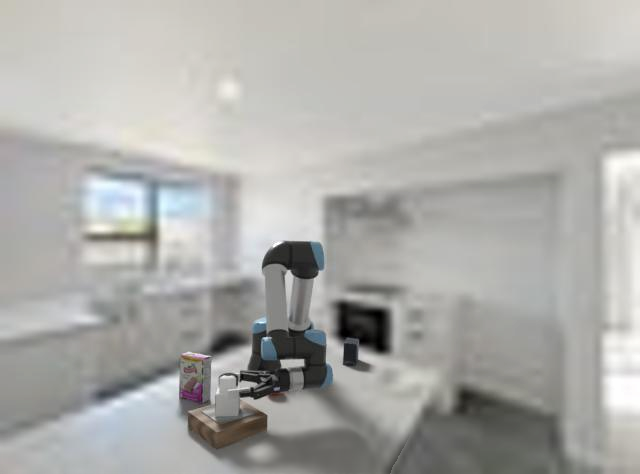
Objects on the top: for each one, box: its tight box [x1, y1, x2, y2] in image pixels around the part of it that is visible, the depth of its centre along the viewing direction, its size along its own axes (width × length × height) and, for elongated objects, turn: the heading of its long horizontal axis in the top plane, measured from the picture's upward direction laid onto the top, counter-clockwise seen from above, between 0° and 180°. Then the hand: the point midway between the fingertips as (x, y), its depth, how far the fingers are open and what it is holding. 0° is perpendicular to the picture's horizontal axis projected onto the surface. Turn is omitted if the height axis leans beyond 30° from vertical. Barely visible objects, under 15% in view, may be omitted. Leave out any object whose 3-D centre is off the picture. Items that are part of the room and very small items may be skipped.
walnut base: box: [187, 399, 269, 450], centre depth 138 cm, size 18×18×5 cm
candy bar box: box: [178, 351, 212, 404], centre depth 161 cm, size 11×5×16 cm, turn 65°
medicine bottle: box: [214, 372, 241, 417], centre depth 138 cm, size 7×7×12 cm
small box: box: [342, 337, 360, 367], centre depth 210 cm, size 11×6×10 cm, turn 168°
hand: (223, 386), depth 137 cm, fingers open, 13 cm apart
